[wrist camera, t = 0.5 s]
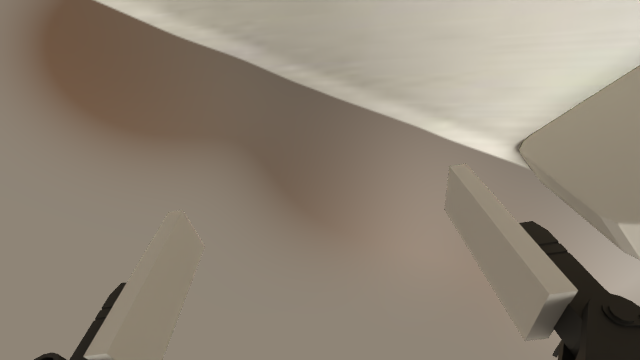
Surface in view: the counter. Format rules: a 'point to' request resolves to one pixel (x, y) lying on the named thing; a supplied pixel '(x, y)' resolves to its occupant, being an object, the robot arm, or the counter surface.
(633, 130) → the gray rounded block
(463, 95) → the counter surface
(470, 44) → the counter surface
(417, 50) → the counter surface
